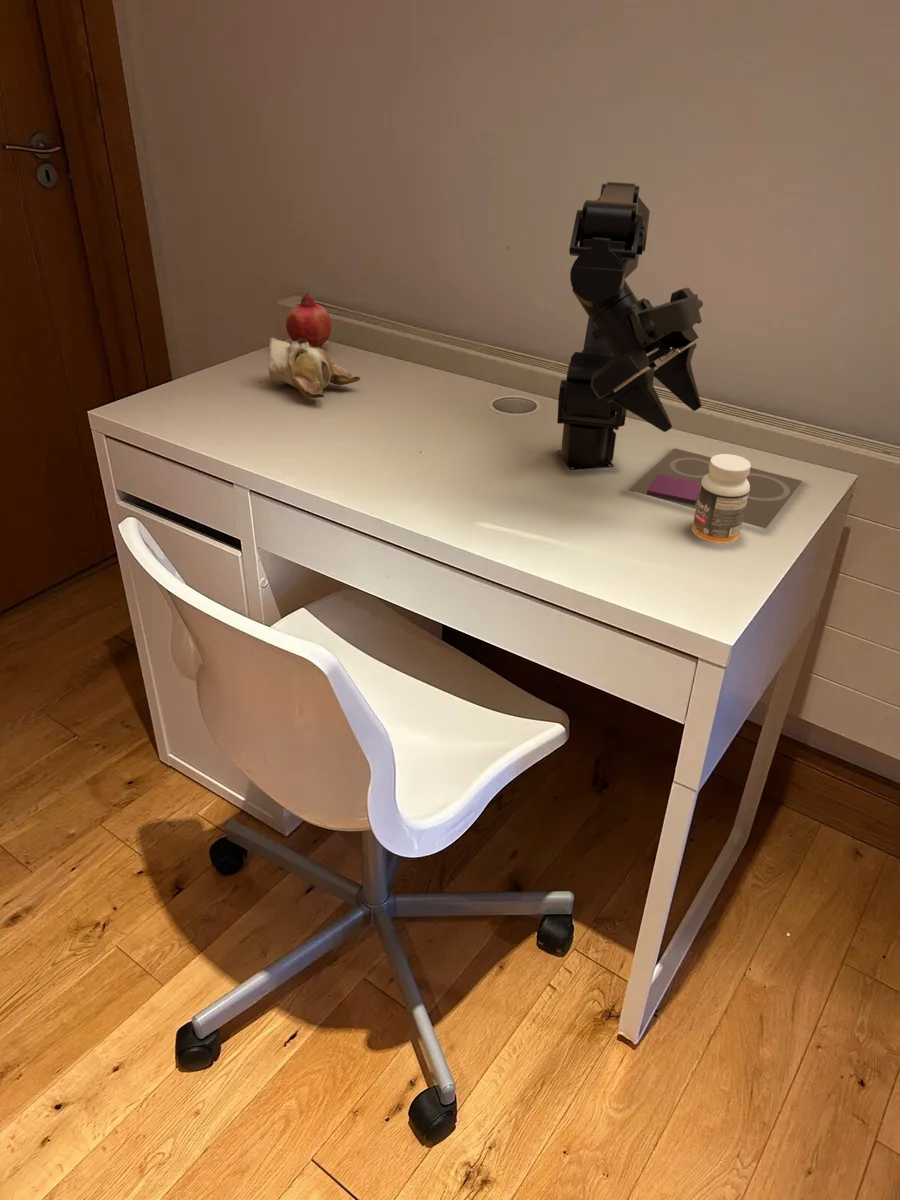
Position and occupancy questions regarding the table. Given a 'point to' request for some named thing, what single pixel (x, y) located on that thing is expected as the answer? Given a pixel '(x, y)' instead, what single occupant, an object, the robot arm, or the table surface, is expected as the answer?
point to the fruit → (309, 322)
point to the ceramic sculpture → (305, 367)
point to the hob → (764, 486)
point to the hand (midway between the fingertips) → (683, 419)
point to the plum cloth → (675, 488)
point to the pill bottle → (722, 499)
